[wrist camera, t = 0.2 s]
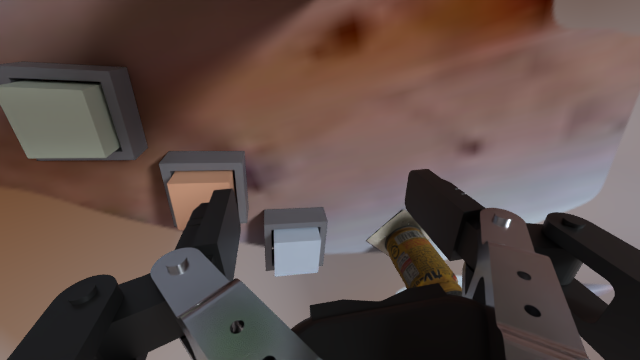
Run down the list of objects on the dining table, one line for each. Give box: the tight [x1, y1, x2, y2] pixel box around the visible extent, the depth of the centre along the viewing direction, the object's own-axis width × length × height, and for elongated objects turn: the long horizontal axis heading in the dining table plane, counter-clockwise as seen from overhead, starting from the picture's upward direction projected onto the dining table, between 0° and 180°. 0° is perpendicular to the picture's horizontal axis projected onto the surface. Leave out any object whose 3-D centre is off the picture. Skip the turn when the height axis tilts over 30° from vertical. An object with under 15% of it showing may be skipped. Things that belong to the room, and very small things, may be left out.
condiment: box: [367, 209, 462, 296], centre depth 34 cm, size 7×8×12 cm
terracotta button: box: [167, 170, 236, 230], centre depth 26 cm, size 5×5×3 cm
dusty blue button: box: [274, 227, 321, 277], centre depth 32 cm, size 5×5×3 cm
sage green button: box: [0, 80, 121, 158], centre depth 21 cm, size 5×5×3 cm
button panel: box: [0, 62, 328, 271], centre depth 28 cm, size 11×36×3 cm, turn 46°
